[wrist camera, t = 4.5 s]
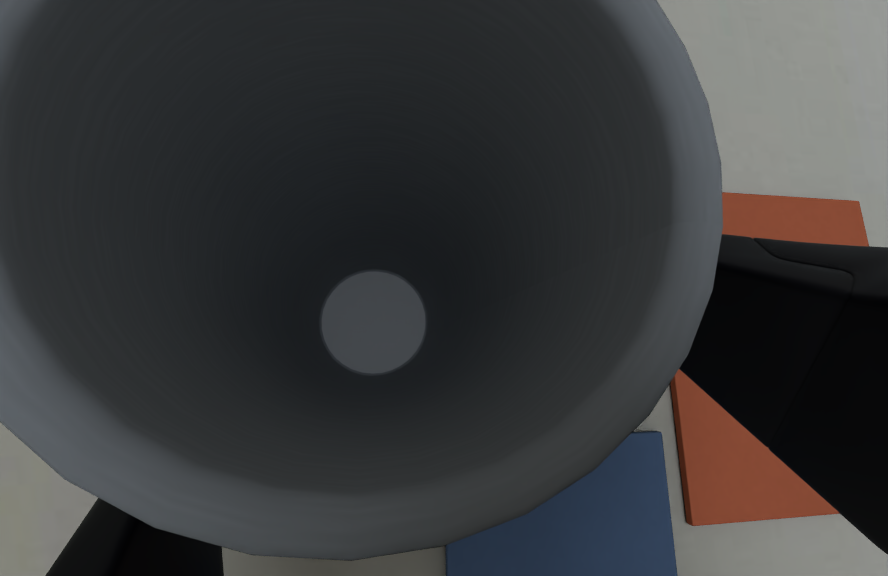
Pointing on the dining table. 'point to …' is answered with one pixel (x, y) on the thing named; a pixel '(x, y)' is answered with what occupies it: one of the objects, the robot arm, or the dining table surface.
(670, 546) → the blue mat
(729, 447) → the terracotta mat
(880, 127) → the dining table surface
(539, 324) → the cup
